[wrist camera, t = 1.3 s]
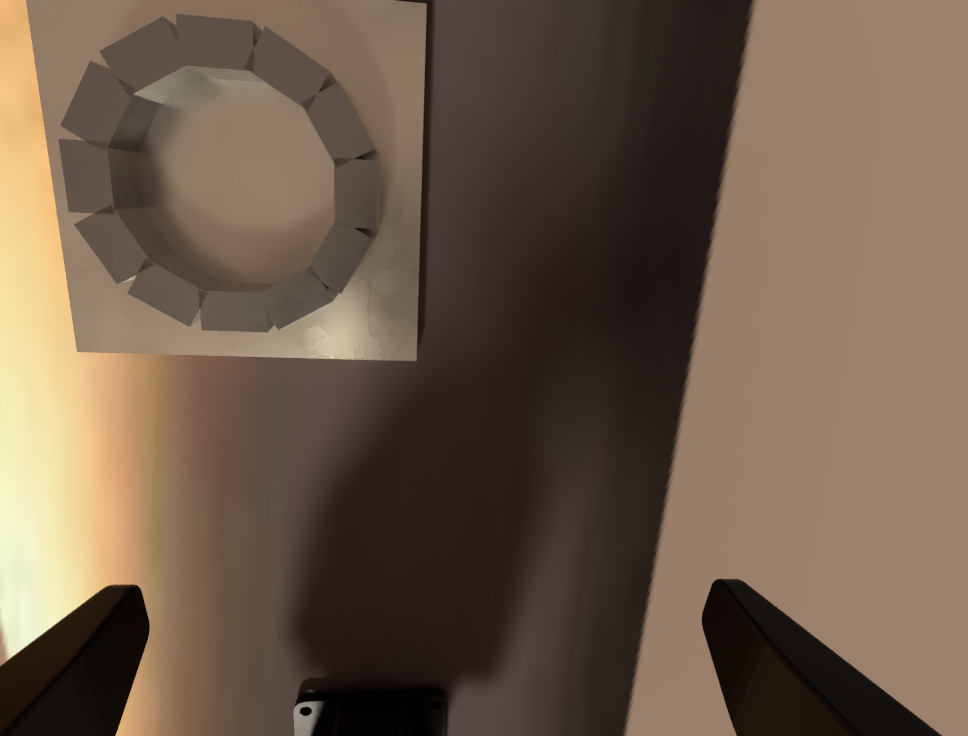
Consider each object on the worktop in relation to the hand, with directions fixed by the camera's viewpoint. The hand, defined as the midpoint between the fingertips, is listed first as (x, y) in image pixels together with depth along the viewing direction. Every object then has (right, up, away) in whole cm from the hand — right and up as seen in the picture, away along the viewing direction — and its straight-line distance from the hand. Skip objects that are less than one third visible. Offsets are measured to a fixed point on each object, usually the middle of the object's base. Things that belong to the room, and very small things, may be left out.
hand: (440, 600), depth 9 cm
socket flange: (-7, +10, +10) cm, 15 cm away
